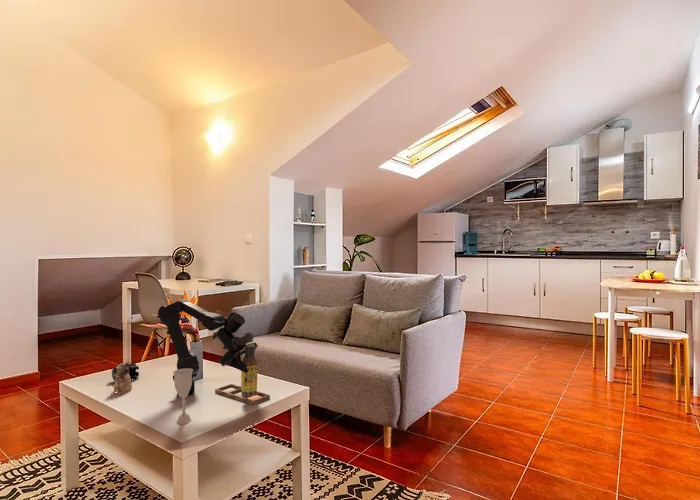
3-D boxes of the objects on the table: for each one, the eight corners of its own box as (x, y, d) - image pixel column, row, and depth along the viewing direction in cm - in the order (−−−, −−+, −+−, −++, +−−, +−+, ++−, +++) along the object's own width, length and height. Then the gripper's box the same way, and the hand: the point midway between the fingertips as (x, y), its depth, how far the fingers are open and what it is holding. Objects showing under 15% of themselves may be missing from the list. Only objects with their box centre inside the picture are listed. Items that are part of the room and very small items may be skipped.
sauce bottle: (244, 398, 165) (243, 348, 165) (239, 394, 170) (238, 344, 170) (259, 395, 168) (259, 345, 168) (254, 391, 174) (254, 342, 174)
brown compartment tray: (215, 392, 182) (215, 389, 182) (231, 387, 189) (231, 383, 189) (253, 405, 167) (253, 401, 167) (269, 398, 174) (269, 394, 174)
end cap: (133, 375, 208) (132, 362, 208) (140, 378, 204) (139, 364, 204) (111, 381, 201) (111, 366, 200) (118, 384, 196) (117, 369, 196)
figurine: (111, 390, 187) (110, 363, 186) (128, 386, 192) (127, 360, 192) (116, 394, 182) (116, 366, 182) (134, 390, 187) (133, 363, 187)
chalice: (177, 417, 156) (176, 368, 156) (196, 416, 157) (195, 368, 156) (170, 425, 149) (169, 374, 149) (190, 424, 149) (189, 374, 149)
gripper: (225, 331, 162) (250, 363, 158) (253, 323, 179) (276, 351, 175) (209, 350, 165) (233, 382, 161) (238, 340, 182) (260, 368, 178)
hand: (252, 369), depth 169 cm, fingers closed on sauce bottle, 6 cm apart
